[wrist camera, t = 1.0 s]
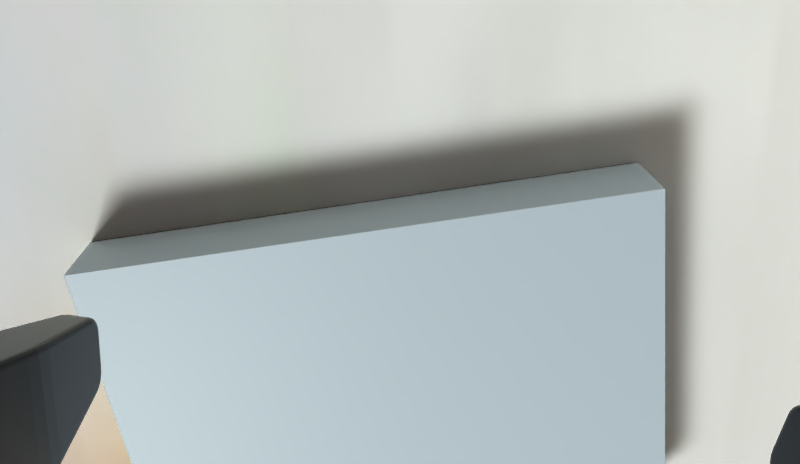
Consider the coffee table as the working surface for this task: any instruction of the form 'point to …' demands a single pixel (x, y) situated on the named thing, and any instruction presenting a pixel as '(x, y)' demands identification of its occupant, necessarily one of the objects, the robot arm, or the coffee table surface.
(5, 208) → the coffee table surface
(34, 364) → the robot arm
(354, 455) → the pale blue flat block
